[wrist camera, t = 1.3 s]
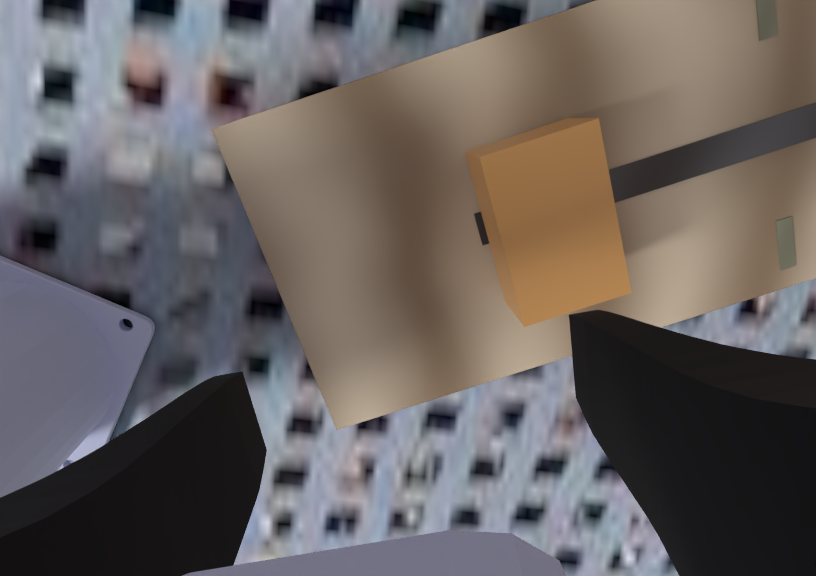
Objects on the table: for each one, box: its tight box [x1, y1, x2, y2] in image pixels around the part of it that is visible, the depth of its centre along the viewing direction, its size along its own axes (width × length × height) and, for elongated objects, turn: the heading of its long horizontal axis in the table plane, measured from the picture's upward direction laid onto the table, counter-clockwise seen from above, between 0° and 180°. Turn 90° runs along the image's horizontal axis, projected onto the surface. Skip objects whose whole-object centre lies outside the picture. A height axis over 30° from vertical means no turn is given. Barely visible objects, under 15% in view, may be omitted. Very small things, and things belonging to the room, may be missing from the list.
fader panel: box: [211, 0, 816, 430], centre depth 20 cm, size 22×12×2 cm, turn 107°
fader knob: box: [465, 118, 632, 327], centre depth 18 cm, size 4×6×2 cm, turn 17°
